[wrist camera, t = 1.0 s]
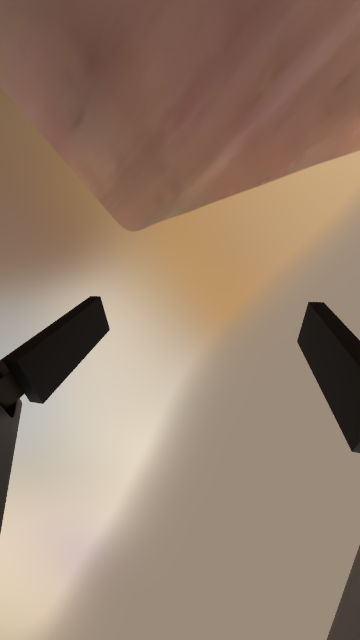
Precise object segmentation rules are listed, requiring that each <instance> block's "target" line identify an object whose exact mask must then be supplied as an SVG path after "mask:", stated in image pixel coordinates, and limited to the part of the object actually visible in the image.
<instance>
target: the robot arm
mask: <svg viewBox="0 0 360 640" xmlns="http://www.w3.org/2000/svg"><path fill="white" fill-rule="evenodd" d="M108 331H109V325H108V322H107V318H106V315H105V312H104V308H103V305H102V301H101V297H97V296H90V297H89V298H88V299H86V300H85V301H83V302H82V303H80V304H79V305H78V306H76V307H75V308H74V309H72V310H71V311H69V312H68V313H66V314H65V315H64V316H62V317H61V318H59V319H58V320H57V321H55V322H54V323H53V324H51V325H50V326H48V327H47V328H45V329H44V330H42V331H41V332H40V333H38V334H37V335H35V336H34V337H32V338H31V339H30V340H28V341H27V342H25V343H24V344H23V345H21V346H20V347H18V348H17V349H16V350H14V351H13V352H11V353H10V354H9V355H7V356H6V357H4V358H3V359H1V360H0V532H1V526H2V520H3V514H4V508H5V503H6V497H7V490H8V484H9V479H10V472H11V467H12V461H13V455H14V449H15V443H16V437H17V431H18V425H19V419H20V413H21V407H22V402H21V400H20V399H19V398H20V397H21V396H22V395H23V394H24V393H25V395H26V396H27V398H28V399H29V401H30V402H36V403H42V404H43V403H44V402H45V401H46V400H47V399H48V398H49V397H50V395H51V394H52V393H53V392H54V391H55V390H56V389H57V387H59V385H60V384H61V383H62V382H63V381H64V380H65V379H66V378H67V376H68V375H69V374H70V373H71V372H72V371H73V370H74V369H75V368H76V367H77V365H78V364H79V363H80V362H81V361H82V360H83V359H84V358H85V357H86V355H87V354H88V353H89V352H90V351H91V350H92V349H93V348H94V347H95V345H96V344H97V343H98V342H99V341H100V340H101V339H102V338H103V337H104V335H105V334H106V333H107V332H108ZM297 342H298V344H299V346H300V348H301V350H302V352H303V354H304V356H305V358H306V360H307V362H308V364H309V366H310V368H311V370H312V372H313V374H314V376H315V378H316V380H317V382H318V384H319V386H320V388H321V390H322V392H323V394H324V396H325V398H326V400H327V402H328V404H329V406H330V408H331V410H332V412H333V414H334V416H335V418H336V420H337V422H338V424H339V427H340V428H341V430H342V432H343V435H344V437H345V439H346V441H347V443H348V445H349V447H350V449H351V451H352V452H358V453H360V340H359V339H358V338H357V337H356V336H355V335H354V334H353V333H352V332H351V331H350V330H349V329H348V328H347V327H346V326H345V325H344V323H342V321H341V320H340V319H339V318H338V317H337V316H336V315H335V314H334V313H333V312H332V311H331V310H330V309H329V308H328V307H327V306H326V304H325V303H324V302H323V303H321V302H308V306H307V310H306V313H305V316H304V320H303V323H302V327H301V330H300V334H299V337H298V341H297ZM327 640H360V546H359V549H358V552H357V555H356V557H355V560H354V563H353V566H352V569H351V572H350V575H349V578H348V580H347V583H346V586H345V589H344V592H343V595H342V598H341V601H340V603H339V606H338V609H337V612H336V615H335V618H334V621H333V624H332V626H331V629H330V632H329V635H328V638H327Z"/></svg>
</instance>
